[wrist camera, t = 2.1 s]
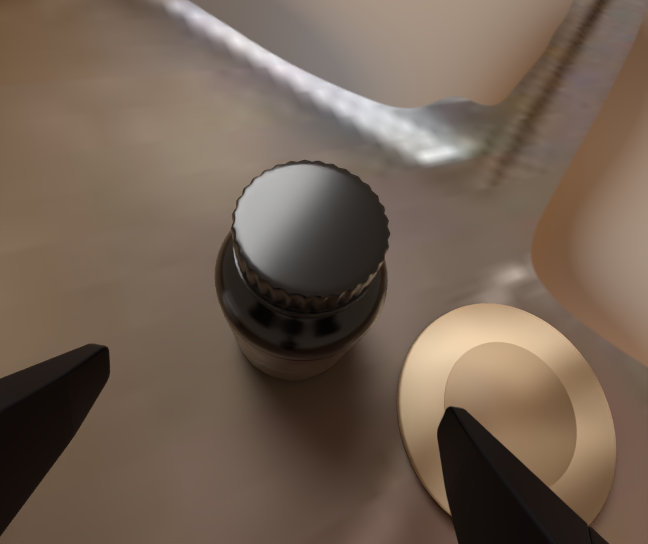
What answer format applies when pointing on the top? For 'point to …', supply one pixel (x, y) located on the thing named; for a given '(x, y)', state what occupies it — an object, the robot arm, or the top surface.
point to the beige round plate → (510, 401)
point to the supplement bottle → (303, 267)
